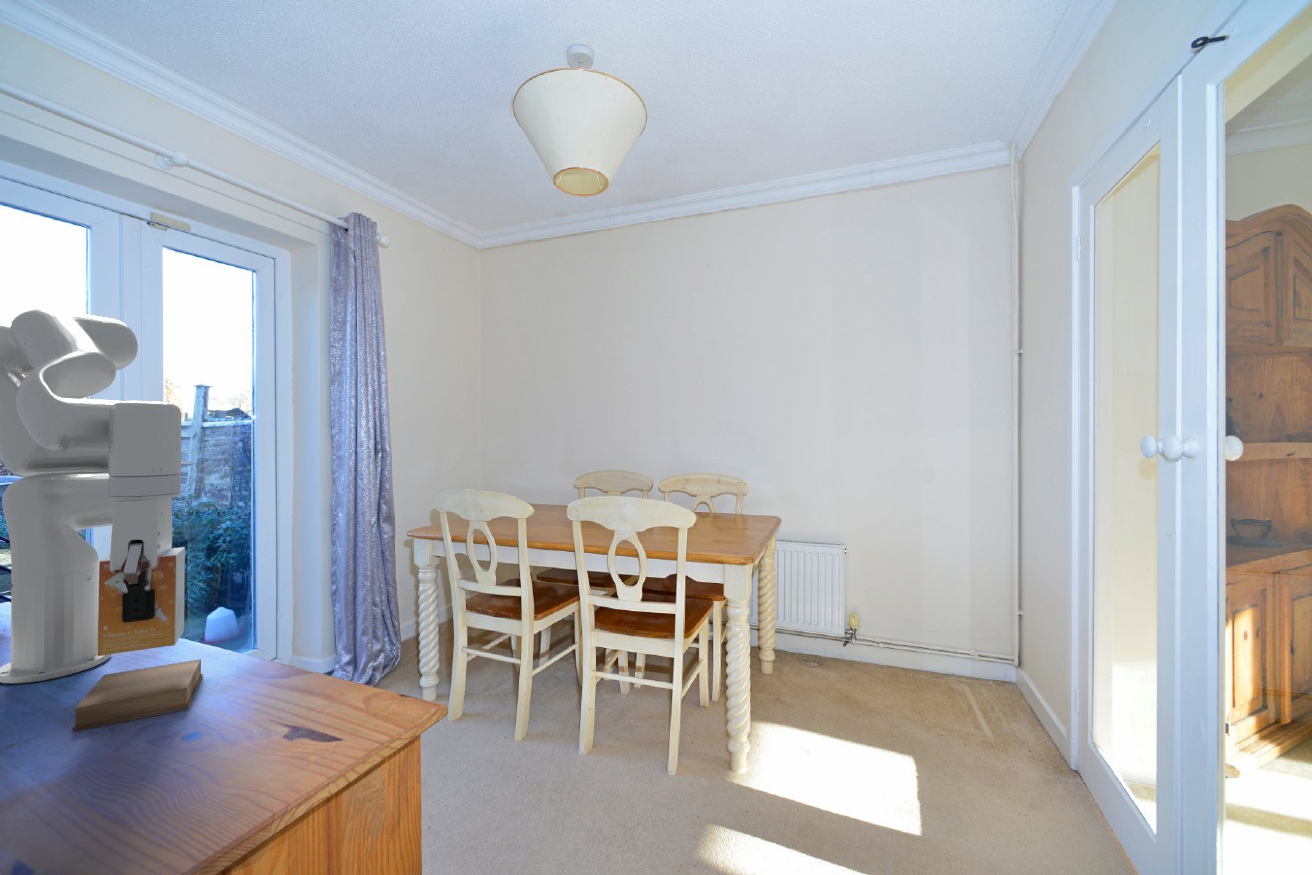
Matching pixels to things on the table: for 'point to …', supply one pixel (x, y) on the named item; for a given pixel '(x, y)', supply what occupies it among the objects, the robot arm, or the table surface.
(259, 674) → the table surface
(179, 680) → the plinth
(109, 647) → the small box
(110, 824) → the table surface
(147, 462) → the robot arm
